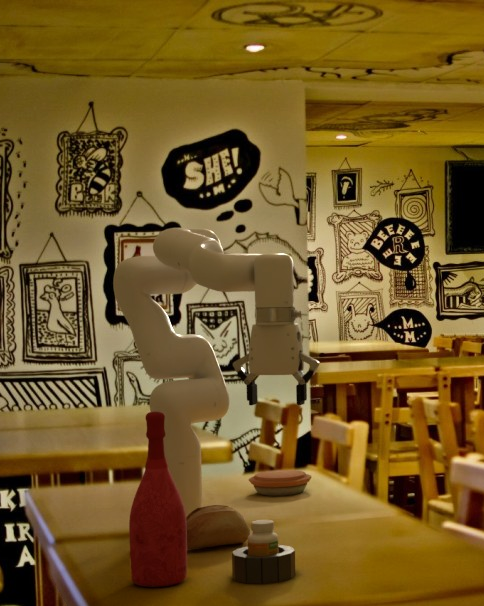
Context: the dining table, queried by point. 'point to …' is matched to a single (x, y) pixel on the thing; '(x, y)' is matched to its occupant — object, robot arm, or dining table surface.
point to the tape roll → (263, 566)
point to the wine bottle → (157, 518)
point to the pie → (280, 482)
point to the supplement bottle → (262, 539)
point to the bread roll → (215, 527)
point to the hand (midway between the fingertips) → (276, 404)
